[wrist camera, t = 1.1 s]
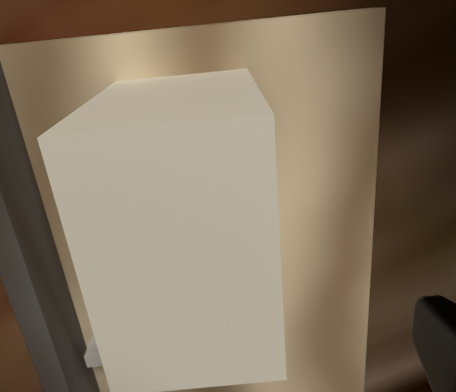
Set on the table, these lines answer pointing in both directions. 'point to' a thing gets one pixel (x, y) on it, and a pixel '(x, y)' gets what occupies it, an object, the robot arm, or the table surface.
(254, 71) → the flat beige panel
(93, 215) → the carton
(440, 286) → the table surface
